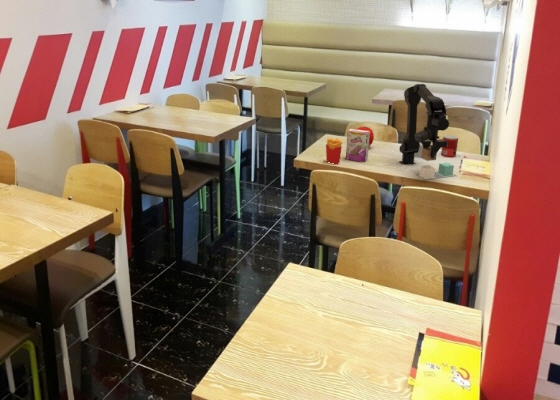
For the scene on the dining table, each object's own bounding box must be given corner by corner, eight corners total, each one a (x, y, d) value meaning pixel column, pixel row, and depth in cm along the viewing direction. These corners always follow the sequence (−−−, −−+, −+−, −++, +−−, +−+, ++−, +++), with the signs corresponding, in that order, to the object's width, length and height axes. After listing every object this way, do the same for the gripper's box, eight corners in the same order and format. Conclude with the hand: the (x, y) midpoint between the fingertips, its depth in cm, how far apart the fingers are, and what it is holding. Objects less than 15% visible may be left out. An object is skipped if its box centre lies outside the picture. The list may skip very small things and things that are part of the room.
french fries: (324, 162, 287) (324, 138, 282) (328, 160, 290) (329, 136, 285) (338, 165, 281) (339, 141, 277) (342, 163, 284) (344, 139, 280)
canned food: (456, 157, 296) (459, 138, 292) (441, 157, 297) (443, 137, 293) (455, 154, 303) (457, 135, 299) (440, 153, 304) (442, 134, 300)
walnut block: (429, 156, 264) (431, 147, 262) (436, 159, 260) (437, 149, 258) (421, 157, 262) (422, 148, 260) (427, 160, 258) (428, 150, 256)
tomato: (350, 146, 315) (351, 125, 310) (365, 144, 320) (367, 123, 315) (360, 151, 306) (362, 129, 301) (376, 149, 310) (378, 127, 305)
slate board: (414, 175, 267) (414, 174, 267) (446, 171, 273) (446, 170, 273) (425, 181, 259) (425, 180, 259) (457, 177, 266) (457, 176, 265)
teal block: (446, 172, 271) (447, 162, 269) (452, 175, 267) (453, 165, 265) (438, 173, 269) (439, 163, 267) (444, 176, 265) (445, 166, 263)
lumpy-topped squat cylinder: (406, 155, 299) (408, 140, 296) (414, 150, 309) (415, 135, 306) (424, 159, 294) (426, 143, 291) (431, 153, 304) (433, 138, 301)
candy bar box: (345, 160, 290) (347, 130, 284) (348, 157, 295) (349, 128, 289) (365, 162, 286) (367, 132, 280) (368, 160, 290) (370, 130, 284)
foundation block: (419, 175, 266) (420, 165, 264) (428, 174, 267) (429, 164, 265) (425, 178, 261) (426, 168, 259) (434, 177, 263) (435, 167, 261)
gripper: (407, 122, 260) (404, 153, 266) (430, 131, 244) (426, 164, 250) (426, 120, 264) (423, 151, 270) (450, 129, 248) (446, 161, 253)
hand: (428, 156), depth 261 cm, fingers closed on walnut block, 5 cm apart
